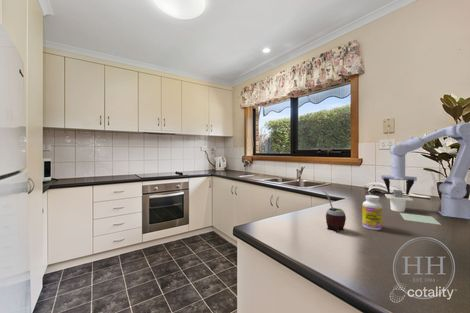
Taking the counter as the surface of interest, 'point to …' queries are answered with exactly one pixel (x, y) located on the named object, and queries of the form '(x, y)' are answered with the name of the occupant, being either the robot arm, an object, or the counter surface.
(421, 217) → the mat
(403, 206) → the shot glass
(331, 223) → the mate gourd
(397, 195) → the lid
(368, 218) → the supplement bottle
